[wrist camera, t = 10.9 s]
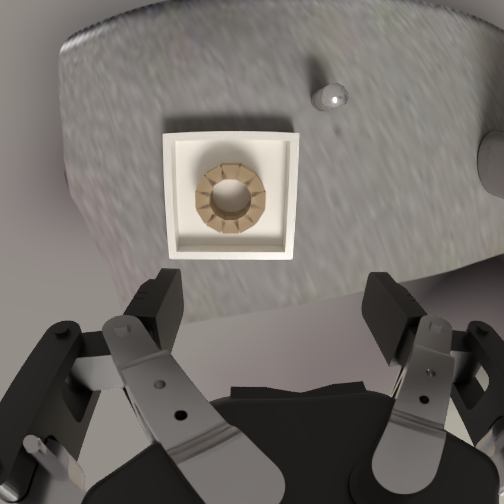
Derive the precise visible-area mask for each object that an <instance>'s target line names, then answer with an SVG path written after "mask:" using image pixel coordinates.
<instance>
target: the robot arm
mask: <svg viewBox="0 0 504 504" xmlns="http://www.w3.org/2000/svg"><path fill="white" fill-rule="evenodd" d="M478 172H479V176H480V180H481V182H482V185H483V186H484V188H485V189H486V190H487V191H488V192H489V193H490V194H492V195H495V196H497V197H500V198H502V199H504V132H499V131H492V132H490V133H488V134H487V135H486V136H485V137H484V139H483V141H482V143H481V145H480V149H479V154H478ZM183 311H184V300H183V290H182V279H181V271H180V269H170V268H162V269H161V270H160V272H159V274H158V275H157V277H156V279H149V280H148V281H146V282H145V283H143V284H142V285H141V286H140V288H139V289H138V291H137V293H136V294H135V296H134V297H133V299H132V301H131V302H130V304H129V305H128V307H127V309H126V310H125V312H124V314H123V315H121V316H116V317H113V318H111V319H110V320H108V321H107V322H106V323H105V324H104V325H103V327H102V331H96V332H86V333H82V332H81V329H80V326H79V324H78V323H76V322H74V321H61V322H58V323H56V324H54V325H52V326H51V327H50V328H49V329H48V330H47V331H46V332H45V334H44V335H43V337H42V338H41V340H40V341H39V342H38V344H37V345H36V347H35V348H34V349H33V351H32V352H31V354H30V355H29V357H28V358H27V360H26V361H25V363H24V365H23V366H22V367H21V369H20V371H19V373H18V374H17V375H16V377H15V379H14V380H13V382H12V383H11V385H10V387H9V388H8V390H7V392H6V394H5V395H4V397H3V398H2V400H1V402H0V499H1V500H2V501H3V502H5V503H6V504H499V496H504V341H503V340H502V339H501V337H500V336H499V335H498V334H497V333H496V331H495V330H494V329H493V328H492V327H491V326H490V325H488V324H486V323H484V322H481V321H471V322H470V323H469V325H468V327H467V329H466V332H464V331H455V330H452V326H451V325H450V323H449V322H448V321H447V320H445V319H443V318H441V317H439V316H435V315H428V314H427V313H426V312H425V311H424V309H423V308H422V307H421V306H420V305H419V303H418V302H417V301H416V300H415V299H414V297H413V296H411V294H410V293H409V292H408V290H407V289H406V288H404V287H403V286H401V285H400V284H398V283H396V282H395V281H394V280H393V278H392V277H391V276H390V275H389V274H388V273H387V272H371V273H370V274H369V276H368V279H367V284H366V288H365V293H364V297H363V301H362V315H363V318H364V319H365V322H366V323H367V325H368V327H369V329H370V331H371V333H372V335H373V336H374V338H375V340H376V342H377V344H378V346H379V348H380V350H381V352H382V354H383V356H384V357H385V359H386V361H387V363H388V365H389V367H390V366H397V365H401V369H400V371H399V374H398V376H397V379H396V382H395V384H394V386H393V389H392V392H391V394H390V396H388V395H385V394H382V393H378V392H374V391H368V390H366V388H365V386H364V383H363V382H362V381H361V382H352V383H342V384H332V385H329V386H325V387H321V388H318V389H314V390H310V391H307V392H302V393H298V392H291V391H285V390H279V389H273V388H267V387H231V394H230V396H229V397H223V398H220V399H216V400H213V401H211V402H208V400H207V399H206V398H205V397H204V396H203V395H202V393H201V392H200V391H199V390H198V389H197V387H196V386H195V385H194V384H193V382H192V381H191V380H190V379H189V377H188V376H187V375H186V373H185V372H184V371H183V370H182V368H181V367H180V366H179V364H178V363H177V362H176V360H175V359H174V358H173V356H172V355H171V351H172V348H173V345H174V342H175V338H176V335H177V332H178V329H179V326H180V323H181V320H182V316H183ZM481 365H482V367H483V368H484V370H485V371H486V373H487V374H488V377H489V385H488V388H487V389H486V391H485V392H484V390H483V388H482V387H481V385H480V384H479V382H478V380H477V379H476V377H475V376H476V374H477V372H478V371H479V369H480V367H481ZM118 388H122V390H123V392H124V394H125V396H126V398H127V400H128V402H129V404H130V406H131V408H132V410H133V412H134V414H135V415H136V418H137V419H138V421H139V423H140V425H141V427H142V429H143V431H144V433H145V435H146V437H147V438H148V440H149V442H150V443H151V445H150V446H148V447H147V448H146V449H144V450H143V451H142V452H140V453H139V454H137V455H136V456H135V457H133V458H132V459H131V460H129V461H128V462H126V463H125V464H124V465H122V466H121V467H119V468H118V469H116V470H115V471H113V472H112V473H110V474H109V475H108V476H106V477H105V478H103V479H102V480H100V481H99V482H97V483H96V484H95V485H93V486H92V487H91V488H90V489H89V490H88V492H87V493H86V491H85V474H84V471H83V469H82V468H81V466H80V465H79V464H78V463H77V460H78V457H79V454H80V450H81V447H82V444H83V441H84V438H85V435H86V432H87V429H88V426H89V423H90V420H91V418H92V415H93V412H94V409H95V406H96V404H97V401H98V398H99V396H100V393H101V390H107V389H118ZM450 397H451V398H452V400H453V402H454V404H455V406H456V408H457V410H458V412H459V415H460V417H461V419H462V421H463V422H464V425H465V427H466V429H467V431H468V434H469V436H470V438H471V440H472V442H473V445H474V447H473V446H471V445H470V444H468V443H466V442H464V441H463V440H461V439H459V438H457V437H456V436H454V435H453V434H451V433H449V432H448V431H446V430H444V425H445V420H446V415H447V410H448V405H449V399H450Z"/></svg>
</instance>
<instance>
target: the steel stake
mask: <svg viewBox="0 0 504 504" xmlns="http://www.w3.org/2000/svg"><path fill="white" fill-rule="evenodd" d="M347 101H348V92H347V90H346V89H345V87H344V86H342V85H341V84H338V83H332V84H329V85H327V86H326V87H324V88H322V89H320V90H318V91H317V92H315V93H314V94H313V95H312V97H311V103H312V105H313V107H314V108H315V109H317V110H319V111H326V110H329V109H333V108H337V107H341V106H343V105H345V104H346V102H347Z"/></svg>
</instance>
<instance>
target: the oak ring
mask: <svg viewBox="0 0 504 504" xmlns="http://www.w3.org/2000/svg"><path fill="white" fill-rule="evenodd" d="M223 180H238V181H239V182H241V183H243V184H245V185H246V186H247V188H248V190H249V192H250V200H249V202H248V204H247V205H246V207H245V208H243V209H241V210H239V211H238V212H225V211H224V210H222V209H220V208H218V207H217V205H216V203H215V202H214V200H213V187H214V186H215V185H216V184H218V183H219V182H221V181H223ZM265 204H266V191H265V188H264V186H263V184H262V182H261V180H260V178H259V177H258V175H257V173H256V172H255V171H254V170H253V169H251V168H249V167H248V166H246V165H244V164H242V163H241V164H240V162H224V163H221V164H219V165H217V166H216V167H214V168H212V169H210V170H209V171H208V172H207V173H206V174H205V175H204V176H203V178H202V180H201V181H200V183H199V185H198V187H197V188H196V191H195V207H196V211H197V212H198V214H199V216H200V217H201V219H202V220H203V222H204V224H206V223H207V224H206V225H207V226H208V227H210V228H212V229H214V230H216V231H217V232H219V233H221V231H222V234H239V232H240V233H242V232H243V231H245V230H247V229H249V228H251V227H253V226H255V224H257V222H258V220H259V219H260V217H261V216H262V214H263V212H264V211H265Z"/></svg>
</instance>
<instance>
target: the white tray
mask: <svg viewBox="0 0 504 504" xmlns="http://www.w3.org/2000/svg"><path fill="white" fill-rule="evenodd" d="M298 155H299V133H285V132H258V131H212V132H185V133H168V134H163V166H164V190H165V208H166V223H167V236H168V247H169V258H170V259H258V260H292V258H293V244H294V230H295V214H296V197H297V177H298ZM224 162H240V164H241V163H242V164H244V165H246V166H248V167H249V168H251V169H253V170H254V171H255V172H256V173H257V175H258V177H259V178H260V180H261V182H262V184H263V186H264V188H265V191H266V204H265V211H264V212H263V214H262V216H261V217H260V219H259V220H258V222H257V224H255V226H253V227H251V228H249V229H247V230H245V231H243V232H242V233H240V232H239V234H222V231H221V233H219V232H217V231H216V230H214V229H212V228H210V227H208V226H207V225H206V224H207V223H206V224H204V222H203V220H202V219H201V217H200V216H199V214H198V212H197V211H196V207H195V191H196V188H197V187H198V185H199V183H200V181H201V180H202V178H203V176H204V175H205V174H206V173H207V172H208V171H209V170H210V169H212V168H214V167H216V166H217V165H219V164H221V163H224ZM213 200H214V202H215V203H216V205H217V207H218V208H220V209H222V210H224V211H225V212H238V211H239V210H241V209H243V208H245V207H246V205H247V204H248V202H249V200H250V192H249V190H248V188H247V186H246V185H245V184H243V183H241V182H239V181H238V180H223V181H221V182H219V183H218V184H216V185H215V186H214V187H213Z"/></svg>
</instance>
